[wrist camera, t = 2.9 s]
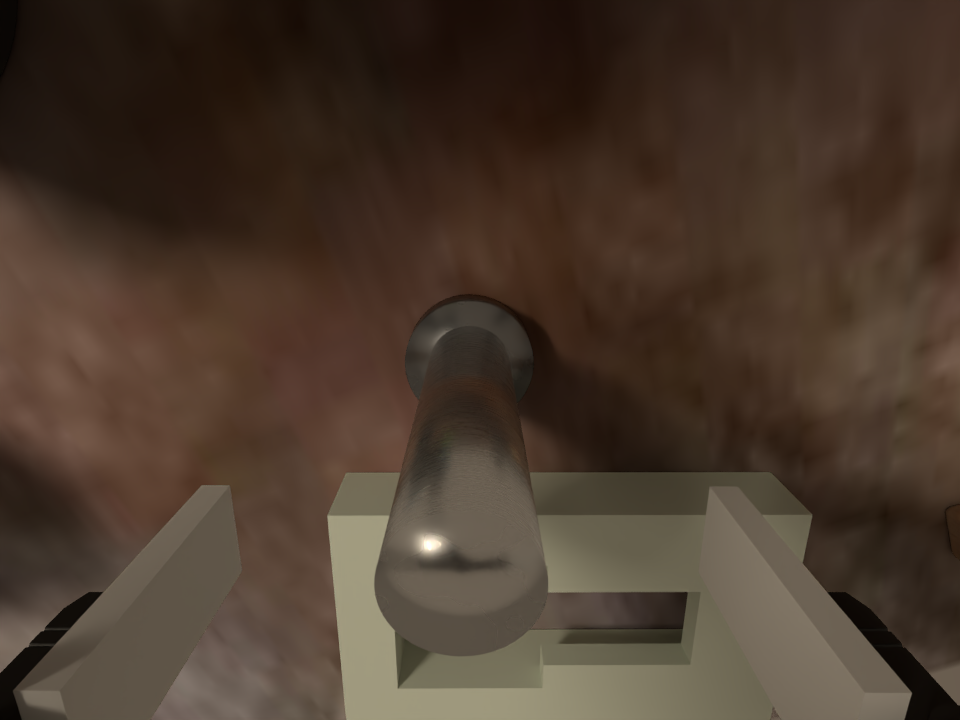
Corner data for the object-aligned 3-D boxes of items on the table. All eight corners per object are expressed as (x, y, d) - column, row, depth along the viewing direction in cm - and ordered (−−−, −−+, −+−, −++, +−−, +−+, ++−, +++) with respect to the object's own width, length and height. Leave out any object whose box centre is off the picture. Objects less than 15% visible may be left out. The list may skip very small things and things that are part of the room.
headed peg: (411, 410, 31) (332, 695, 14) (406, 294, 29) (309, 462, 12) (528, 410, 31) (592, 694, 14) (532, 294, 29) (610, 462, 12)
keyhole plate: (361, 667, 37) (347, 730, 33) (346, 472, 32) (327, 515, 28) (736, 666, 37) (768, 728, 33) (770, 472, 33) (812, 514, 28)
